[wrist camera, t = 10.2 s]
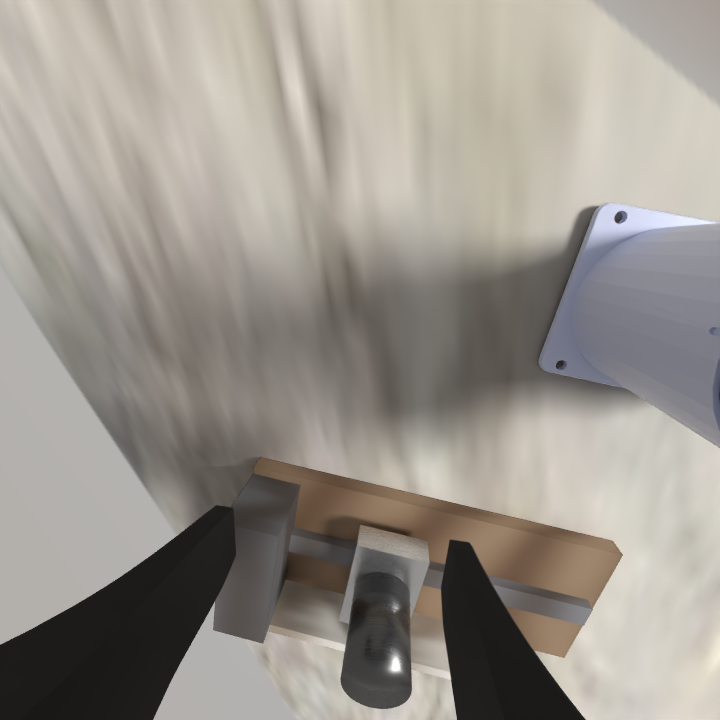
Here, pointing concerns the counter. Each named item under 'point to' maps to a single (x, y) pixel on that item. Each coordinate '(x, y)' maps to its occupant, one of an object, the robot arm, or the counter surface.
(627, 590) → the counter surface
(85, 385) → the counter surface
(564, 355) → the robot arm
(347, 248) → the counter surface
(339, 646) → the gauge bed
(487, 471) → the counter surface
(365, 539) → the gauge slider
